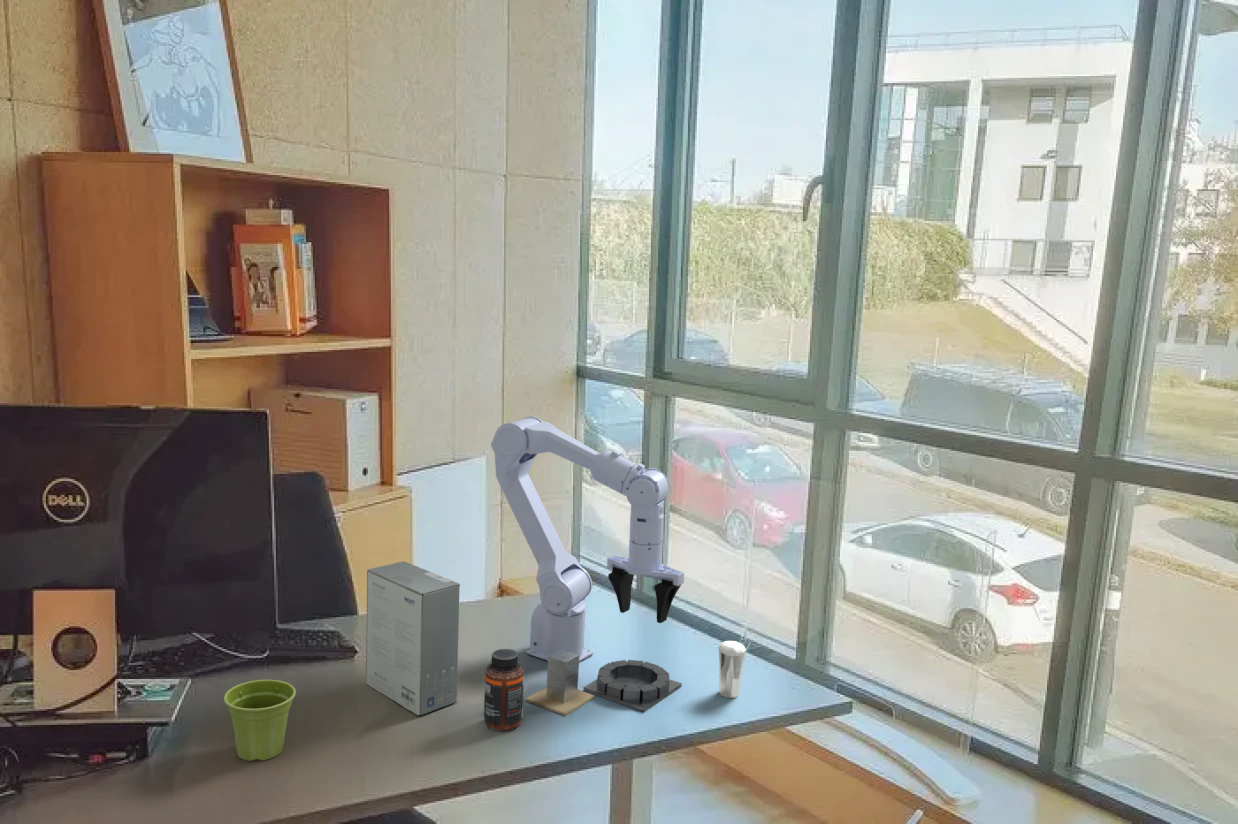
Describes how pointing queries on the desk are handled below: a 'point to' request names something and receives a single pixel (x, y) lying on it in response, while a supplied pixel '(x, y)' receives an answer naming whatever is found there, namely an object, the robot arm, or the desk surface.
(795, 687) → the desk surface
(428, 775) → the desk surface
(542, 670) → the desk surface
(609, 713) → the desk surface
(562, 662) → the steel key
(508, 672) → the supplement bottle
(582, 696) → the cork pad
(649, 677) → the dark grey collar
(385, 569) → the hard drive box
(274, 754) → the plant pot
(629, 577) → the robot arm
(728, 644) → the milkshake
